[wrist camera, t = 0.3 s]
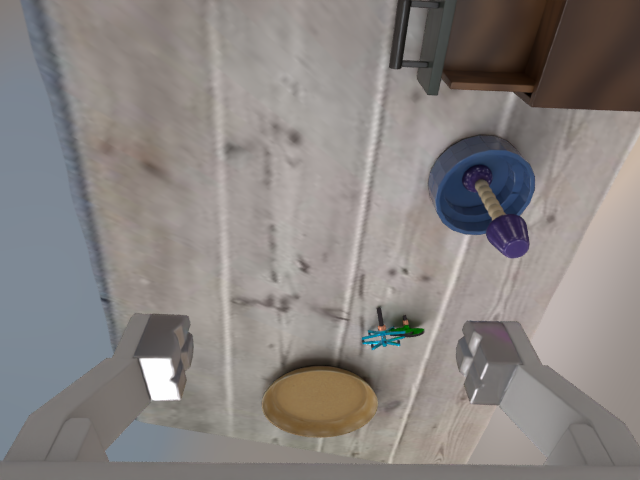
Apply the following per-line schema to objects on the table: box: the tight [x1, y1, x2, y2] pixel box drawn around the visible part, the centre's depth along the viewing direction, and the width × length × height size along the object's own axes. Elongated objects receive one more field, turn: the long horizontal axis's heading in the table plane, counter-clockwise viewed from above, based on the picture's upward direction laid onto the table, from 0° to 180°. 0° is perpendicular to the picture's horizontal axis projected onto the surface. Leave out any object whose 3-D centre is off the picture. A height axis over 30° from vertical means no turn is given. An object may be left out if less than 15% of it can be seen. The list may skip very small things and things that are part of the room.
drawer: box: [389, 0, 563, 95], centre depth 48 cm, size 18×11×6 cm, turn 87°
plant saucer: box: [262, 366, 378, 438], centre depth 92 cm, size 24×24×3 cm
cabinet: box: [514, 0, 640, 112], centre depth 49 cm, size 15×13×8 cm
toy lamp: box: [462, 165, 529, 258], centre depth 56 cm, size 5×5×17 cm
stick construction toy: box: [362, 307, 424, 350], centre depth 79 cm, size 12×7×8 cm
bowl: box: [428, 135, 535, 235], centre depth 61 cm, size 13×13×5 cm
